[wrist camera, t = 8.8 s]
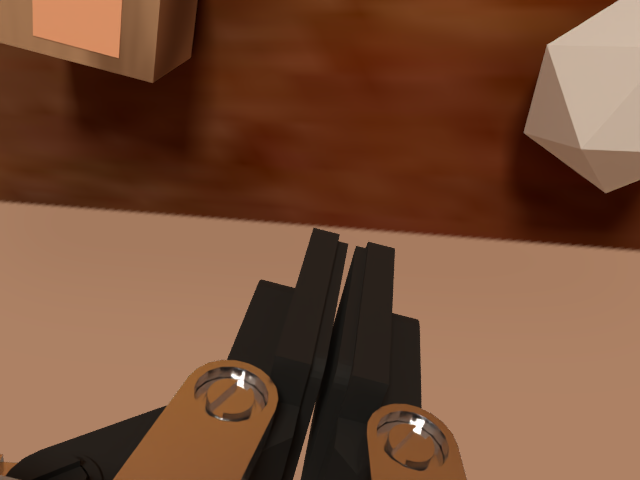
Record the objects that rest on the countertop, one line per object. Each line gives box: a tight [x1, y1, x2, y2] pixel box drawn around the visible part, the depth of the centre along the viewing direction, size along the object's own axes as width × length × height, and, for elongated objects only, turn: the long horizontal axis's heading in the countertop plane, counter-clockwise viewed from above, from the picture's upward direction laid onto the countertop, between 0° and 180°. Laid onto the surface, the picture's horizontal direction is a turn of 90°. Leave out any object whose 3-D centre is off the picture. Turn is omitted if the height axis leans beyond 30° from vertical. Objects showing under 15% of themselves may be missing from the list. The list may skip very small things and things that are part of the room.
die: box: [524, 0, 640, 193], centre depth 30 cm, size 8×9×10 cm
